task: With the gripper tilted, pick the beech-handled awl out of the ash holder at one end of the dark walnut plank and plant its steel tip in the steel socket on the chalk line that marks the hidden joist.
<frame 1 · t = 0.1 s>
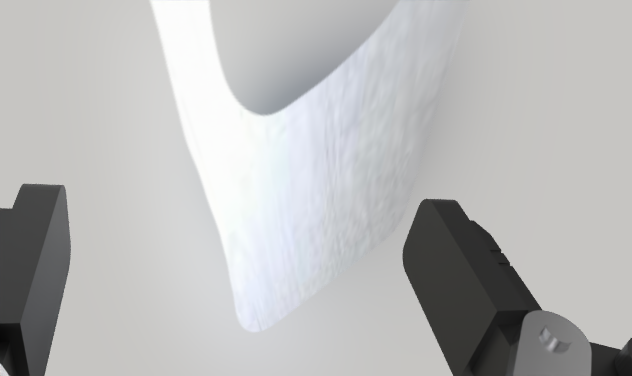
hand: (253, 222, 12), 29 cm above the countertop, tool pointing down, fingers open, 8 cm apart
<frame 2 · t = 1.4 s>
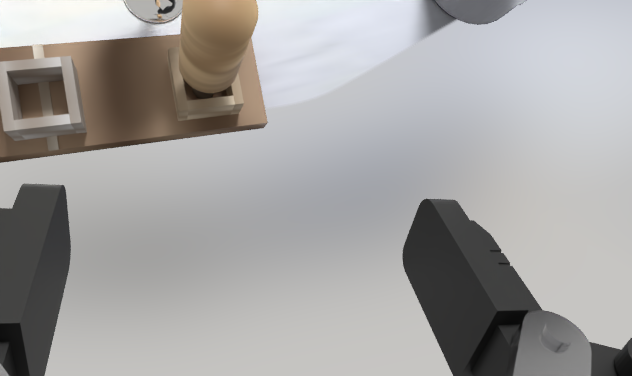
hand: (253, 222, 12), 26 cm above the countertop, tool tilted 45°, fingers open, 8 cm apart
plank: (128, 95, 37), on the countertop
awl: (203, 88, 37), point 1 cm above the countertop, touching plank
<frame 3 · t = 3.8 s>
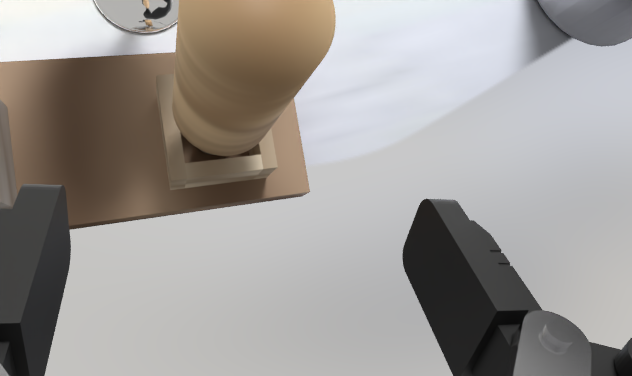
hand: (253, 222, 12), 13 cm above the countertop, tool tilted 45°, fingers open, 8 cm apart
plank: (93, 146, 24), on the countertop
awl: (212, 137, 24), point 2 cm above the countertop, touching plank
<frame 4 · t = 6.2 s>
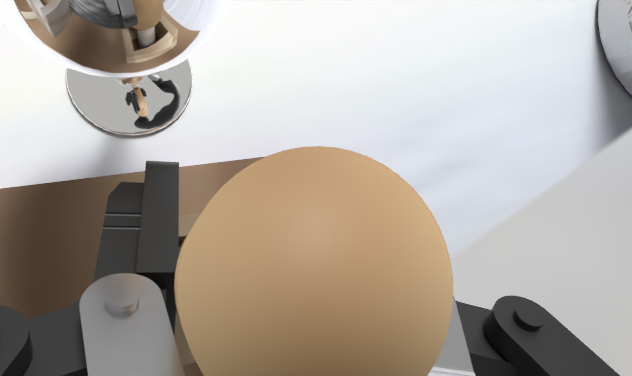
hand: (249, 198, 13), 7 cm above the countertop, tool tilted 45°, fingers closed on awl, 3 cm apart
wineglass: (131, 79, 20), on the countertop
plank: (69, 290, 18), on the countertop
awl: (222, 278, 18), point 2 cm above the countertop, touching gripper, plank
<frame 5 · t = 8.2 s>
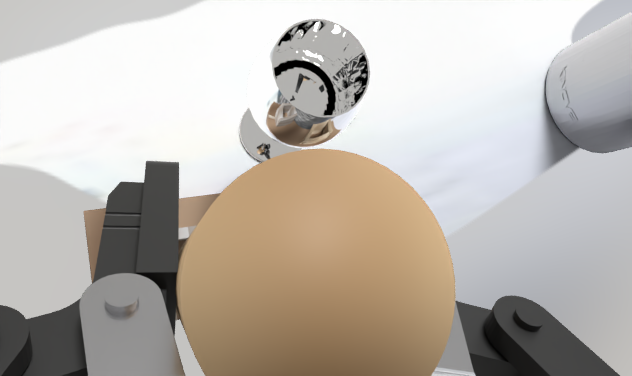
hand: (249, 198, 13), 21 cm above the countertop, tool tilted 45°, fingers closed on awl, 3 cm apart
wineglass: (272, 132, 36), on the countertop
plank: (244, 247, 34), on the countertop
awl: (224, 279, 18), point 16 cm above the countertop, touching gripper
when the fingers open (9 cm above the countertop, at t = 10.5 s): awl drops 1 cm, resting on plank.
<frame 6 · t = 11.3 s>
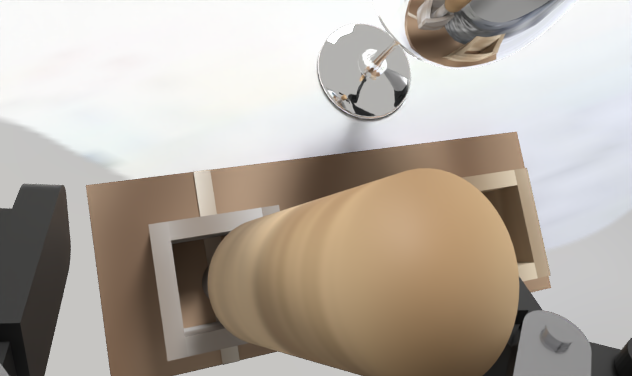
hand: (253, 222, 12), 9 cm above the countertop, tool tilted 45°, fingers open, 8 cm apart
wineglass: (363, 72, 24), on the countertop
plank: (332, 244, 22), on the countertop
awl: (223, 281, 19), point 2 cm above the countertop, tilted 10°, touching gripper, plank
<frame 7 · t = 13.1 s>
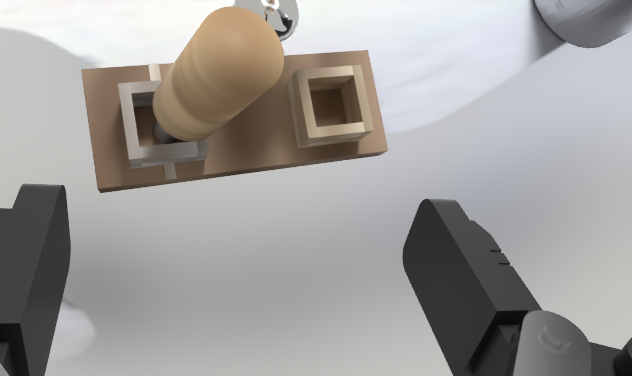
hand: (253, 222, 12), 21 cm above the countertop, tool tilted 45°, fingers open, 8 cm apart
wineglass: (266, 12, 36), on the countertop
plank: (241, 119, 34), on the countertop
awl: (166, 130, 31), point 2 cm above the countertop, tilted 13°, touching plank
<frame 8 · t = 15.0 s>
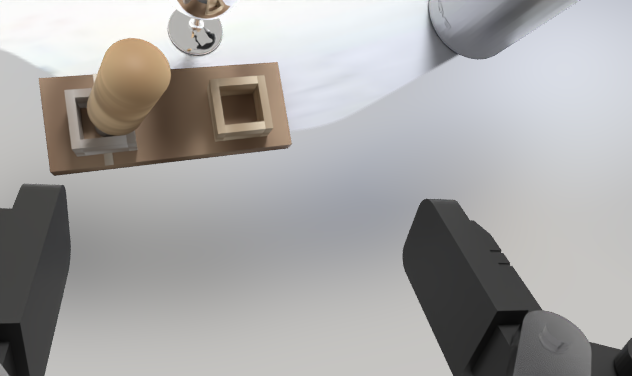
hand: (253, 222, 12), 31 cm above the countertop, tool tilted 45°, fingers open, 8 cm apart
wineglass: (195, 30, 44), on the countertop
plank: (171, 118, 43), on the countertop
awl: (106, 126, 39), point 2 cm above the countertop, tilted 13°, touching plank
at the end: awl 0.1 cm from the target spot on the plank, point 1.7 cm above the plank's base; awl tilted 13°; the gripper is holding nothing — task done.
